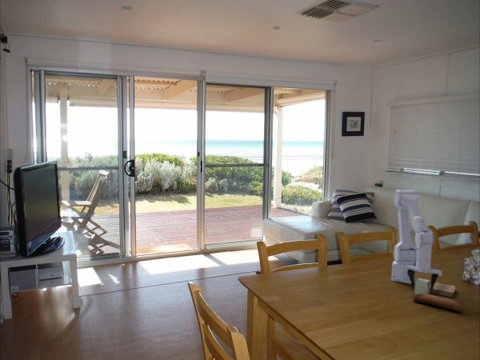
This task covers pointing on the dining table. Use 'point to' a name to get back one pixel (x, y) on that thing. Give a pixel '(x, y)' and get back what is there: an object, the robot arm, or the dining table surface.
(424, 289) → the green block
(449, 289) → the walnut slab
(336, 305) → the dining table surface
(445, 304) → the sunglasses case
